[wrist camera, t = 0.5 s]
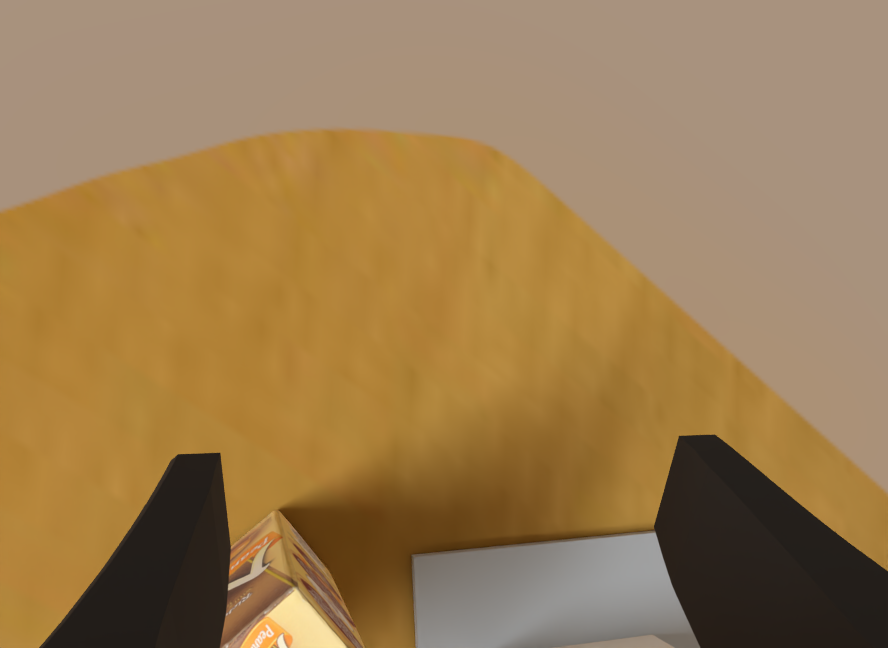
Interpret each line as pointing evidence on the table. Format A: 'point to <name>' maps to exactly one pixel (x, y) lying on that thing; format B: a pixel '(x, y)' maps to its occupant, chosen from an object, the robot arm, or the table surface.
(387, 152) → the table surface
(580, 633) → the board
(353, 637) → the candy box
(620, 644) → the box
